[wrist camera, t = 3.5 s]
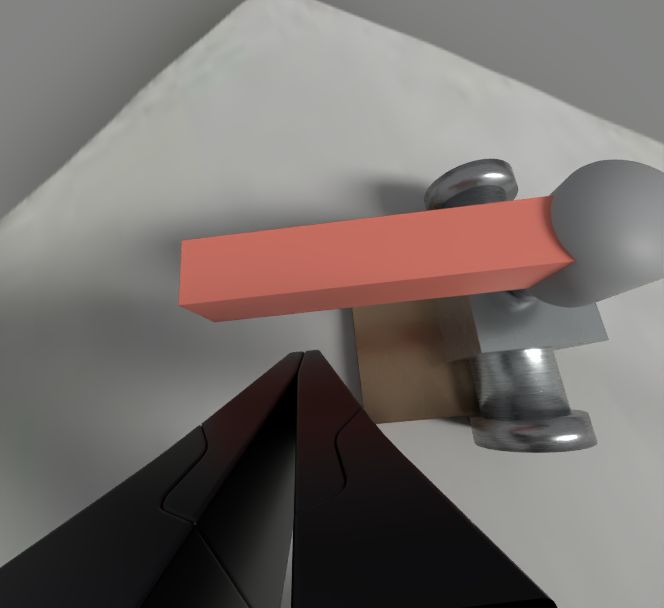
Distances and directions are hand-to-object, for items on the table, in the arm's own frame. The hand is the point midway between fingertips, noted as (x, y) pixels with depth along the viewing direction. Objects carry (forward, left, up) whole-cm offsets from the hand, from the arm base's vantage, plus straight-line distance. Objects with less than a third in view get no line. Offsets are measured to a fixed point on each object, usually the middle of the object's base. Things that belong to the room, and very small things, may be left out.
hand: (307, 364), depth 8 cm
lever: (+1, -4, -1) cm, 4 cm away
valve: (0, -7, -8) cm, 10 cm away
